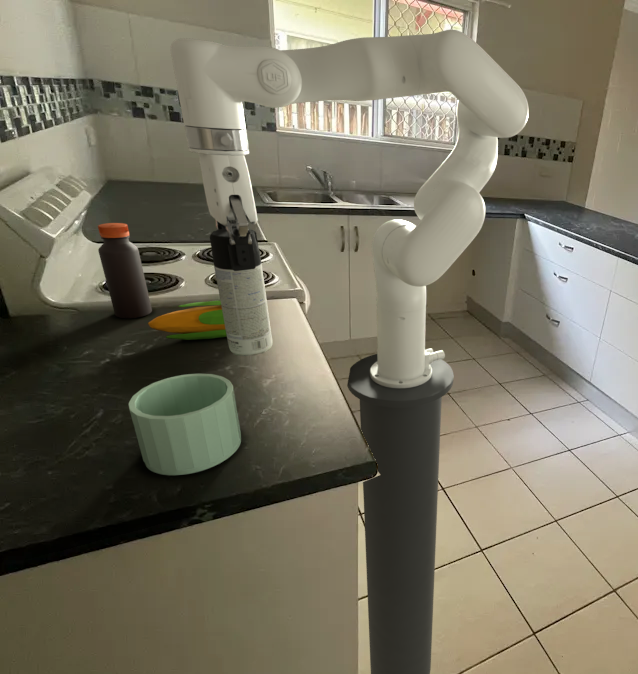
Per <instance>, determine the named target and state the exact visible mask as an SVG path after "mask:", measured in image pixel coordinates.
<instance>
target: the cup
mask: <svg viewBox="0 0 638 674" xmlns="http://www.w3.org/2000/svg"><path fill="white" fill-rule="evenodd" d="M127 405H128V409H129V413H130V418H131V420H132V424H133V427H134V432H135V435H136V439H137V442H138V443H137V444H138V447H139V451H140V453H141V457H142V462H143V463H144V466H145V467H146V468H147V469H148V470H149V471H150V472H152V473H154V474H155V473H156V474H158V475H162V476H183V475H185V476H186V475H190V474H195V473H200V472H203V471H206V470H208V469H211V468H214V467H215V466H217V465H220V464H221V463H223V462H224V461H226V460H228V459H229V458H231V457H232V456H233V455H234V454H235V453H236V452H237V451H238V449H239V448H240V446H241V442H242V432H241V426H240V425H241V424H240V419H239V414H238V407H237V402H236V395H235V389H234V385H233V384H232V382H231V380H229V379H228V378H226V377H224V376H222V375H218V374H214V373H188V374H187V373H186V374H181V375H175V376H171V377H167V378H164V379H161V380H158V381H154V382H152V383H150V384H149V385H147V386H144V387H142V388H141V389H140V390H138V391H136V393H134V394H133V395H132V396H131V398H130V400H129V402H128V404H127Z"/></svg>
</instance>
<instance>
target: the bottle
mask: <svg viewBox="0 0 638 674" xmlns="http://www.w3.org/2000/svg"><path fill="white" fill-rule="evenodd" d="M97 229H98V232H99V235H100V238H101V240H103V243H102V244H101V245H100V247H98V255H99V258H100V263H101V267H102V271H103V274H104V277H105V282H106V286H107V289H108V293H109V298H110V300H111V305H112V308H113V312H114V316H115V317H117V318H120V319H137V318H142V317H146V316H148V315H150V314H151V313H152V312H153V308H152V304H151V300H150V295H149V291H148V286H147V282H146V277H145V272H144V267H143V264H142V259H141V255H140V251H139V247H138V246H137V245H135V244H134V243H133V242H131V241H130V240H129V238H131V237H130V231H129V226H128V224H127V223H123V222H107V223H101V224H97Z"/></svg>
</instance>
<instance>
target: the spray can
mask: <svg viewBox="0 0 638 674" xmlns="http://www.w3.org/2000/svg"><path fill="white" fill-rule="evenodd" d="M234 229H237V228H233V229H232V231H234ZM249 232H250V236H251V240H252V245H253V251H254V258H255V265H256V268H255V269H250V270H242V271H234V270H233V269H232V267H231V261H230V255H229V249H228V244H230V241H229V237H228V233H227V230H226V228H225V229H218V230H213V231H212V232H211V233H210V235H209V243H210V249H211V255H212V256H211V257H212V262H213V267H214V274H215V278H216V285H217V291H218V295H219V301H221V306H222V312H223V318H224V323H225V328H226V334H227V337H226V339H227V344H228V348H229V351H230V353H232V354H233V355H236V356H240V357H248V356H249V357H250V356H257V355H261V354H265V353H266V352H268V351H269V350H271V348H272V347H273V335H272V329H271V328H272V327H271V322H270V314H269V307H268V300H267V299H268V298H267V293H266V291H267V290H266V285H265V277H264V271H263V264H262V258H261V257H262V256H261V252H260V247H259V244H258V243H259V242H258V236H257V232H256V230H254V229H251V228H249ZM233 233H234V232H233ZM233 235H234V234H233Z"/></svg>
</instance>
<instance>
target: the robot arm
mask: <svg viewBox="0 0 638 674" xmlns="http://www.w3.org/2000/svg"><path fill="white" fill-rule="evenodd" d="M170 56H171V57H170V58H171V62H172V67H173V73H174V78H175V83H176V84H175V85H176V88H177V94H178V100H179V105H180V109H181V115H182V122H183V125H184V132H185V138H186V141H187V142H186V143H187V147H188V152H190V153H195V154H198V159H199V167H200V172H201V179H202V184H203V189H204V196H205V200H206V205H207V208H208V212H209V215H210V216H211V217H212V218H213V219H214V220H215V229H216V230H218V229H225V228H226V230H227V233H228V237H229V241H230V244H228V249H229V255H230V261H231V267H232V269H233V270H234V271H242V270H250V269H255V268H256V265H255V258H254V251H253V245H252V240H251V236H250V232H249V229H250V228H249V223H250V224H251V225H256V224H257V223H258V221H259V218H258V213H257V208H256V203H255V197H254V192H253V186H252V181H251V176H250V172H249V167H248V164H247V160H246V157H245V156H246V155H250V149H249V141H248V133H247V128H246V121H245V113H244V106H243V105H244V104H243V102H245V103H252V104H257V105H260V106H263V107H266V108H267V107H268V108H276V109H277V108H284V107H287V106H289V105H294V104H304V103H313V102H326V101H350V102H366V101H378V100H386V99H395V98H396V99H397V98H405V97H412V96H413V97H414V96H422V95H432V94H441V93H442V94H443V93H451V94H452V95H453V97H455V98H456V99H457V103H456V111H455V112H456V113H455V114H456V120H457V129H458V130H457V131H458V133H457V138H456V139H457V140H456V143H455V145H454V148H453V149H452V151H451V152H450V153H449V154H448V155H447V157H446V158H445V160H444V161H443V162H442V163H441V164H440V165H439V166H438V168H437V169H436V170H435V171H434V172H433V173H432V174H431V176H429V178H428V179H427V180H426V181H425V182H424V183H423V184H422V186H421V187H420V188H419V189H418V191H417V192H416V194H415V196H414V200H413V210H414V213H415V214H416V216H417V217H418V219H419V220H420V221H419V222H418V223H417V224H415V223H412V222H411V221H407V220H404V219H390V220H388V221H386V222H384V223H382V224H381V225H380V226H379V227H378V228H377V229H376V231H375V233H373V238H372V241H371V257H372V264H373V272H374V279H375V280H374V281H375V297H376V298H375V302H376V304H375V306H376V307H375V309H376V311H375V312H376V354H377V358H378V361H377V362H376V363H374V364H373V365H372V366H371V368H370V377H371V379H372V380H373V381H374V382H376V383H377V384H379V385H382V386H385V387H389V388H411V387H415V386H419V385H421V384H423V383H425V382H427V381H428V380H429V379H430V378H431V375H432V368H431V366H430V364H431V363H432V362H433V361H435V360H436V361H437V360H440V359H442V360H444V359H445V358H446V354H445V351H444V350H443V349H441V350H437V351H434V349H433V348H426V326H427V325H426V324H427V323H426V321H427V320H426V318H427V317H426V316H427V286H429V285H432V284H433V283H434V282H436V281H438V280H439V279H440V278H441V277H442V276H443V275H444V274H445V273H446V272H447V271H448V270H449V269H450V268H451V266H452V265H453V264H454V263H455V262H456V261H457V259H458V258H459V257H460V256H461V255H462V254H463V252H464V251H465V250H466V249H467V248H468V247H469V246H470V244H471V243H472V242H473V241H474V239H475V238H476V237H477V235H478V234H479V233H480V231H481V230H482V227H483V225H484V222H485V218H486V204H485V201H484V198H483V196H482V195H481V193H480V192H481V191H482V190H483V189H484V187H485V186H486V185H487V184H488V182H489V180H490V179H491V177H492V176H493V174H494V172H495V171H496V170H495V169H496V167H497V162H498V155H499V154H498V153H499V152H498V151H499V147H498V146H499V139H507V138H511V137H515V136H516V135H518V134H520V132H522V130H523V129H524V128H525V127H526V124H527V122H528V119H529V112H530V111H529V110H530V109H529V101H528V99H527V97H526V94H525V92H524V91H523V89H522V88H521V87H520V86H519V84H518V83H517V82H516V81H515V80H514V79H513V78H512V77H511V76H510V75H509V74H508V72H506V71H505V70H504V69H503V67H501V66H500V64H499V63H498V62H496V61H495V59H493V57H492V56H491V55H489V54H488V52H487V51H486V50H485V49H483V47H481V46H480V45H479V44H478V43H477V42H476V41H475V40H474V39H473V38H471V37H470V36H468V35H467V34H465V33H464V32H463V31H460V30H457V29H446V30H441V31H437V32H433V33H424V34H411V35H410V34H409V35H394V36H393V35H392V36H370V37H369V36H367V37H356V38H350V39H345V40H342V41H339V42H335V43H330V44H327V45H322V46H321V45H320V46H316V47H315V46H314V47H308V48H306V47H305V48H296V49H294V48H293V49H282V50H281V49H278V48H276V47H272V46H269V45H268V46H266V45H226V44H224V43H220V42H216V41H212V40H206V39H199V38H187V37H186V38H184V37H183V38H181V37H180V38H176V39H174V40H173V41H172V42H171V45H170ZM498 138H499V139H498ZM233 228H237V229H234V231H232V229H233ZM216 230H215V231H216ZM233 232H234V233H233ZM233 234H234V235H233Z"/></svg>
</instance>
